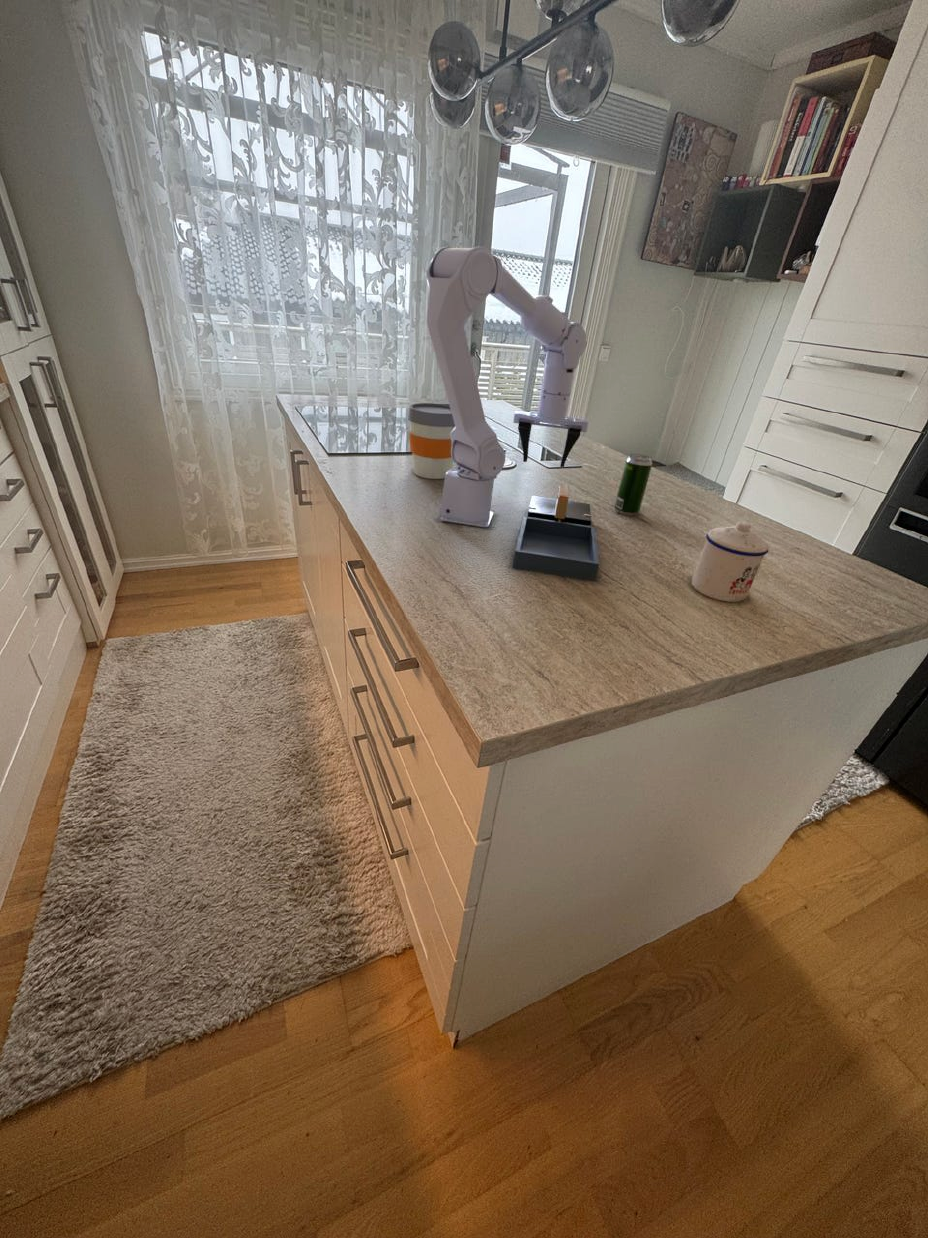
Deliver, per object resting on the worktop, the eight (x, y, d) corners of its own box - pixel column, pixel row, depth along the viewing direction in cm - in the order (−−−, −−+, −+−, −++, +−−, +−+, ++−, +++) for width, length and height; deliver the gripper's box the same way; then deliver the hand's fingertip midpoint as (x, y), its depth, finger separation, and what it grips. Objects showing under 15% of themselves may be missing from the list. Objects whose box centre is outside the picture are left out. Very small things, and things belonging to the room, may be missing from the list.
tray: (512, 568, 85) (515, 550, 84) (520, 531, 99) (523, 515, 98) (595, 581, 84) (599, 564, 82) (591, 541, 98) (595, 526, 96)
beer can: (627, 517, 111) (642, 461, 105) (608, 509, 115) (622, 454, 109) (643, 514, 114) (659, 459, 108) (624, 506, 118) (638, 452, 111)
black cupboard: (528, 511, 109) (531, 494, 107) (586, 519, 108) (590, 503, 106) (523, 535, 98) (526, 517, 96) (588, 545, 96) (592, 526, 94)
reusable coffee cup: (457, 483, 121) (462, 416, 113) (403, 478, 120) (405, 410, 112) (458, 468, 131) (463, 405, 124) (409, 463, 131) (411, 400, 123)
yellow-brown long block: (555, 504, 104) (559, 483, 101) (564, 505, 103) (568, 484, 101) (554, 517, 97) (558, 496, 95) (564, 519, 97) (568, 497, 95)
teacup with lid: (734, 609, 80) (764, 540, 74) (679, 586, 85) (703, 519, 79) (762, 588, 87) (791, 523, 81) (710, 567, 92) (734, 505, 86)
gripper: (592, 394, 102) (578, 463, 109) (520, 385, 104) (510, 453, 111) (593, 399, 96) (578, 472, 103) (516, 390, 98) (507, 462, 105)
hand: (543, 463), depth 107 cm, fingers open, 7 cm apart
